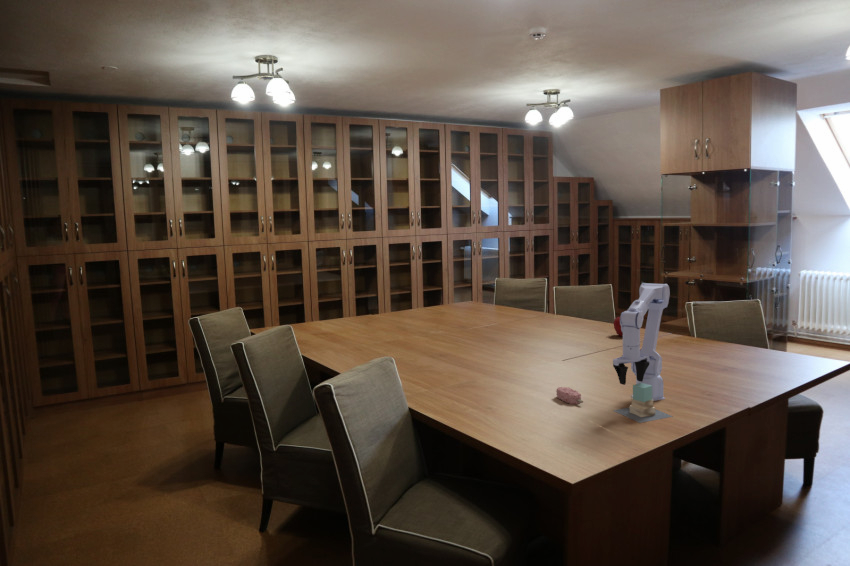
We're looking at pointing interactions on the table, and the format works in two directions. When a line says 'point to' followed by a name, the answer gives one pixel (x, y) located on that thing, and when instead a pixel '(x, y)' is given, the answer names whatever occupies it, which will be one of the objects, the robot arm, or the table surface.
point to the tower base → (642, 411)
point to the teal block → (642, 392)
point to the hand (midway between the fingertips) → (631, 382)
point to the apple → (618, 326)
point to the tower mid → (642, 404)
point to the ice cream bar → (569, 395)
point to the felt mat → (642, 419)
